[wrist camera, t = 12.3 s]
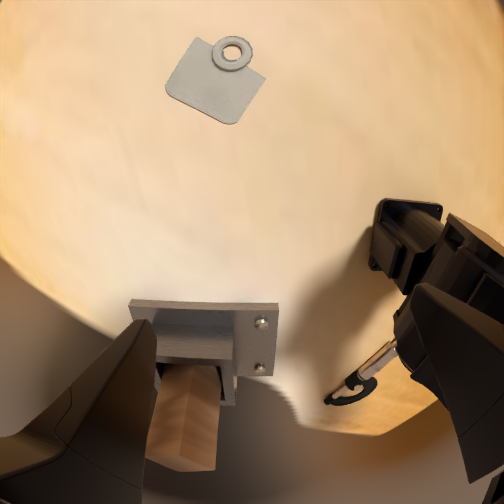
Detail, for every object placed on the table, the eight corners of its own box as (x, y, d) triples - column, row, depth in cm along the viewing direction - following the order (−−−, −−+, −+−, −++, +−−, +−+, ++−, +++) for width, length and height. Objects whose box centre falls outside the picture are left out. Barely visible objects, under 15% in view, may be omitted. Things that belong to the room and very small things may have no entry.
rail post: (199, 334, 26) (179, 455, 15) (223, 357, 27) (214, 469, 16) (170, 347, 27) (143, 456, 16) (194, 368, 28) (178, 471, 17)
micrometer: (351, 403, 36) (354, 416, 34) (317, 396, 34) (319, 411, 32) (426, 342, 30) (433, 355, 27) (397, 327, 28) (405, 343, 26)
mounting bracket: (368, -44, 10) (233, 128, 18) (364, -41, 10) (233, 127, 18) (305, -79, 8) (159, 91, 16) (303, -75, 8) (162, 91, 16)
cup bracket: (277, 302, 25) (282, 343, 21) (272, 369, 30) (274, 405, 25) (131, 299, 25) (113, 335, 21) (153, 364, 30) (144, 397, 25)
